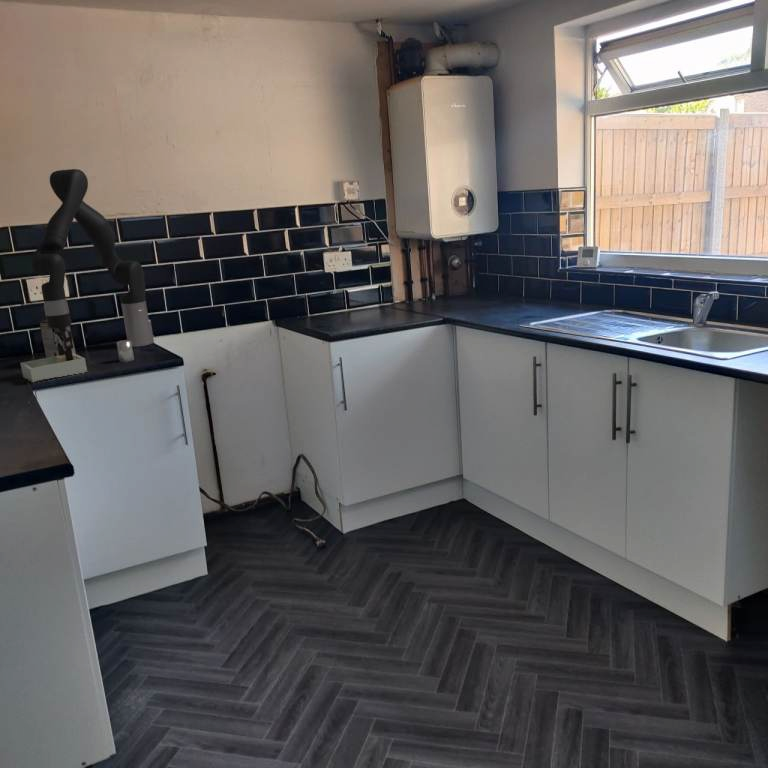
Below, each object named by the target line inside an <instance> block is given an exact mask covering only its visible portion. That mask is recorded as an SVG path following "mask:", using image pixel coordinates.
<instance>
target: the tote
mask: <svg viewBox="0 0 768 768" xmlns="http://www.w3.org/2000/svg"><path fill="white" fill-rule="evenodd" d="M72 354H74V353H72ZM74 355H75V356H76V360H71V361H66V362H61V363H58V362H57V357H56V356H54V357H49V358H46V357H45V358H44V357H43V358H40V359H39V358H38V359H35V360H29V361H23V362H20V367H21V368H20V369H21V372H22V377H23V378H24V379H26V380H27V379H28V380H27V381H29V382H30V381H31V382H30V383H32V382H33V383H34V382H36V381H39V380H43V379H49V378H54V377H62V376H67V375H72V376H74V375H73V374H77V375H80V374H79V373H82V374H85V372H87V373H88V368H87V363H86V358H85V357H83V356H81V355H78V354H77V353H76V354H74ZM33 383H32V384H33ZM34 384H35V383H34Z"/></svg>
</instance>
